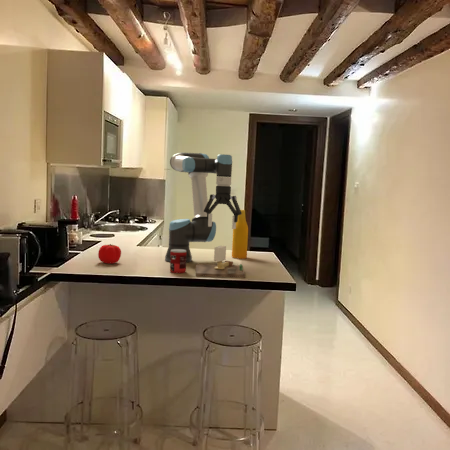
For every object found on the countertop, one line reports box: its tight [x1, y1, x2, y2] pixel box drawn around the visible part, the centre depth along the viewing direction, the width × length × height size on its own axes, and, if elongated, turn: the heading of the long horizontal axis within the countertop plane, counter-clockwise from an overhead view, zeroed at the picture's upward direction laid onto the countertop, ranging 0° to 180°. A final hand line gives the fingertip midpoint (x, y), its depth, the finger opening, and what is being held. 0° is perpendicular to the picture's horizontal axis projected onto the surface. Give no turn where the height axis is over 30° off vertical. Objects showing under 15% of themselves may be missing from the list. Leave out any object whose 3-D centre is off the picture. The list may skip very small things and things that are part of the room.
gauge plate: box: [195, 260, 246, 279], centre depth 240 cm, size 24×24×4 cm
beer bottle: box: [231, 209, 249, 260], centre depth 284 cm, size 9×9×29 cm
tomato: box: [97, 243, 122, 265], centre depth 251 cm, size 12×12×10 cm
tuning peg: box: [213, 245, 229, 269], centre depth 243 cm, size 5×14×11 cm, turn 153°
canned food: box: [169, 249, 187, 274], centre depth 236 cm, size 8×8×11 cm
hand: (221, 227), depth 239 cm, fingers open, 13 cm apart
